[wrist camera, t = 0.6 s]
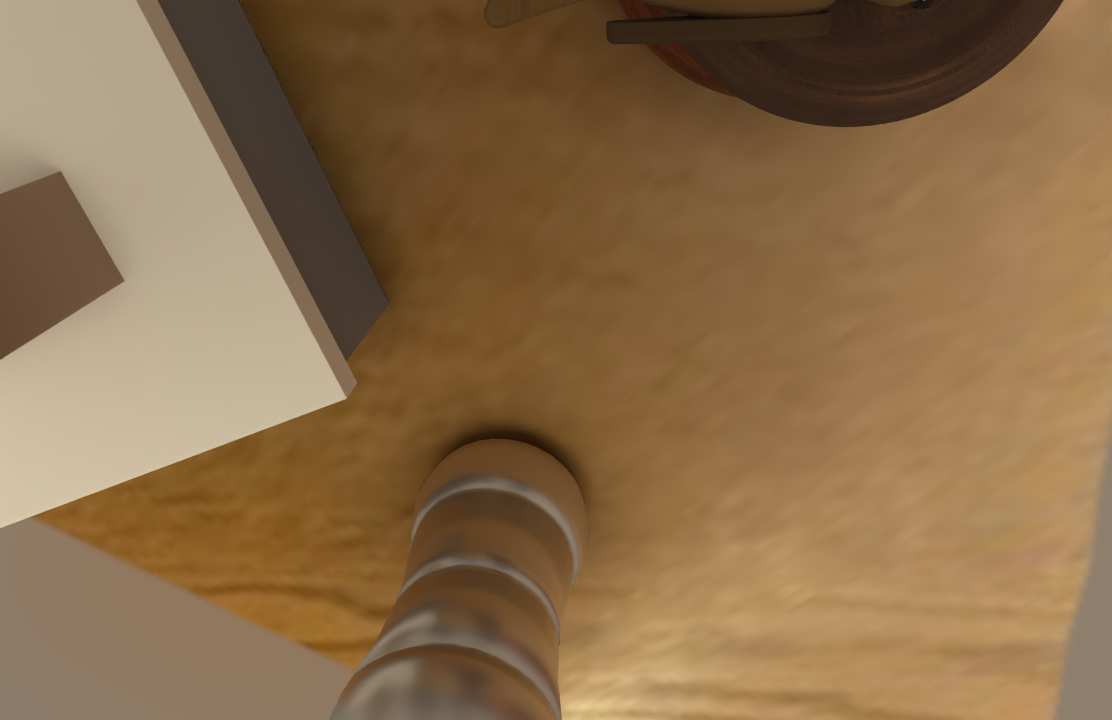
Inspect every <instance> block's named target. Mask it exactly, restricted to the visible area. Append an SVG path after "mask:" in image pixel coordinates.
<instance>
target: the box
mask: <svg viewBox="0 0 1112 720" xmlns="http://www.w3.org/2000/svg"><path fill="white" fill-rule="evenodd" d="M157 1H158V2H159V4H160V6H161V8H162V10H163V12H164V14H165V16H166V18H167V20H168V22H169V24H170V25H171V27H172V29H173V31H174V33H175V35H176V37H177V39H178V41H179V43H180V45H181V47H182V48H183V50H184V52H185V54H186V56H187V58H188V60H189V62H190V64H191V66H192V68H193V69H194V71H195V73H196V75H197V77H198V79H199V81H200V83H201V85H202V87H203V89H204V91H205V92H206V94H207V96H208V98H209V100H210V102H211V104H212V106H213V108H214V110H215V112H216V114H217V115H218V117H219V119H220V121H221V123H222V125H223V127H224V129H225V131H226V133H227V135H228V136H229V138H230V140H231V142H232V144H233V146H234V148H235V150H236V152H237V154H238V156H239V158H240V159H241V161H242V163H243V165H244V167H245V169H246V171H247V173H248V175H249V177H250V179H251V181H252V182H253V184H254V186H255V188H256V190H257V192H258V194H259V196H260V198H261V200H262V202H263V204H264V205H265V207H266V209H267V211H268V213H269V215H270V217H271V219H272V221H273V223H274V225H275V226H276V228H277V230H278V232H279V234H280V236H281V238H282V240H283V242H284V244H285V246H286V248H287V249H288V251H289V253H290V255H291V257H292V259H293V261H294V263H295V265H296V267H297V269H298V271H299V272H300V274H301V276H302V278H303V280H304V282H305V284H306V286H307V288H308V290H309V292H310V294H311V295H312V297H313V299H314V301H315V303H316V305H317V307H318V309H319V311H320V313H321V315H322V316H323V318H324V320H325V322H326V324H327V326H328V328H329V330H330V332H331V334H332V336H333V338H334V339H335V341H336V343H337V345H338V347H339V349H340V351H341V353H342V355H343V357H344V359H345V361H346V360H347V359H348V358H349V356H350V355H351V354H352V352H353V351H354V350H355V348H356V347H357V346H358V344H359V343H360V342H361V340H362V339H363V337H364V336H365V335H366V333H367V332H368V331H369V329H370V328H371V327H372V325H373V324H374V323H375V321H376V320H377V319H378V317H379V316H380V315H381V313H382V312H383V310H384V309H385V308H386V306H387V305H388V304H389V302H388V300H387V298H386V296H385V294H384V292H383V290H382V288H381V286H380V284H379V282H378V280H377V278H376V276H375V274H374V272H373V270H372V268H371V266H370V264H369V262H368V260H367V258H366V256H365V254H364V252H363V250H362V248H361V246H360V244H359V242H358V240H357V238H356V236H355V234H354V232H353V230H352V228H351V226H350V224H349V222H348V220H347V218H346V216H345V214H344V212H343V210H342V208H341V206H340V204H339V202H338V200H337V198H336V196H335V194H334V192H333V190H332V188H331V186H330V183H329V181H328V179H327V177H326V175H325V173H324V171H323V169H322V167H321V165H320V163H319V161H318V159H317V157H316V155H315V153H314V151H313V149H312V147H311V145H310V143H309V141H308V139H307V137H306V135H305V133H304V131H303V129H302V127H301V125H300V123H299V121H298V119H297V117H296V115H295V113H294V111H293V109H292V107H291V105H290V103H289V101H288V99H287V97H286V95H285V93H284V91H283V89H282V87H281V85H280V83H279V81H278V79H277V77H276V75H275V73H274V71H273V69H272V67H271V65H270V63H269V61H268V59H267V57H266V55H265V53H264V51H263V49H262V47H261V45H260V43H259V41H258V39H257V37H256V35H255V33H254V31H253V29H252V27H251V25H250V23H249V21H248V19H247V17H246V15H245V13H244V11H243V9H242V7H241V5H240V3H239V1H238V0H157Z"/></svg>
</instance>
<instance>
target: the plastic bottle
mask: <svg viewBox="0 0 1112 720" xmlns="http://www.w3.org/2000/svg"><path fill="white" fill-rule="evenodd" d="M588 541H589V523H588V518H587V514H586V509H585V505H584V501H583V497H582V493H581V491H580V489H579V487H578V485H577V483H576V481H575V479H574V478H573V476H572V475H571V474H570V473H569V471H568V470H567V469H566V467H564V466H563V465H562V464H561V463H560V462H559V461H558V460H557V459H555V458H554V457H553V456H551V455H550V454H548V453H546V452H545V451H543V450H541V449H540V448H537V447H535V446H532V445H530V444H527V443H524V442H519V441H515V440H510V439H487V440H480V441H475V442H473V443H470V444H467V445H464V446H462V447H460V448H458V449H457V450H455V451H453V452H451V453H450V454H449V455H448V456H447V457H446V458H444V459H443V460H442V461H441V462H440V463H439V464H438V466H437V467H436V468H435V469H434V470H433V471H432V473H431V474H430V475H429V476H428V478H427V479H426V481H425V482H424V483H423V485H422V486H421V488H420V490H419V493H418V496H417V498H416V501H415V506H414V512H413V519H412V526H411V534H410V547H411V549H410V554H409V558H408V562H407V567H406V571H405V576H404V580H403V584H402V588H401V590H400V592H399V594H398V597H397V599H396V602H395V604H394V605H393V607H392V609H391V612H390V614H389V616H388V618H387V620H386V622H385V624H384V627H383V629H382V631H381V633H380V635H379V636H378V638H377V639H376V641H375V642H374V644H373V645H372V647H371V648H370V650H369V652H368V653H367V655H366V656H365V658H364V659H363V661H362V662H361V664H360V665H359V667H358V668H357V670H356V672H355V673H354V675H353V676H352V678H351V679H350V681H349V682H348V684H347V686H346V687H345V688H344V690H343V691H342V693H341V695H340V697H339V699H338V701H337V703H336V706H335V707H334V709H333V711H332V713H331V716H330V718H329V720H562V716H561V706H560V695H559V684H558V672H559V645H560V628H561V624H562V620H563V616H564V612H565V608H566V604H567V601H568V597H569V593H570V590H571V588H572V586H573V584H574V582H575V580H576V578H577V576H578V574H579V572H580V569H581V566H582V563H583V561H584V558H585V555H586V551H587V546H588Z"/></svg>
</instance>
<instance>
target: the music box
mask: <svg viewBox="0 0 1112 720" xmlns="http://www.w3.org/2000/svg"><path fill="white" fill-rule="evenodd" d="M578 1H581V0H488V3H487V5H486V7H485V10H484V17H485V20H486V21H487V23H488V24H489V25H490V26H492V27H494V28H502V27H505V26H508V25H511V24H514V23H517V22H520V21H523V20H526V19H529V18H531V17H534V16H537V15H540V14H543V13H546V12H549V11H552V10H555V9H558V8H561V7H564V6H567V5H569V4H572V3H575V2H578ZM619 2H620V4H621V6H622V8H623V10H624V12H625V14H626V15H627V17H628V19H629V20H616V21H608V22H606V31H607V40H608V41H609V42H610V43H612V44H647V45H648V46H649V47H650V48H651V49H652V50H653V51H654V52H655V53H656V54H657V55H658V56H659V57H660V58H661V59H662V60H663V61H664V62H665V63H667V64H668V65H669V66H670V67H672V68H673V69H674V70H676V71H677V72H679V73H680V74H682V75H683V76H685V77H687V78H688V79H690V80H692V81H694V82H696V83H698V84H700V85H702V86H704V87H706V88H709V89H711V90H714V91H717V92H720V93H723V94H726V95H730V96H734V97H739V98H741V99H742V100H744V101H746V102H748V103H749V104H751V105H753V106H755V107H758V108H760V109H762V110H764V111H767V112H769V113H772V114H774V115H777V116H780V117H783V118H786V119H790V120H794V121H798V122H802V123H808V124H813V125H821V126H833V127H858V126H871V125H878V124H885V123H890V122H895V121H899V120H903V119H907V118H911V117H914V116H917V115H920V114H923V113H926V112H928V111H931V110H934V109H936V108H939V107H941V106H943V105H945V104H947V103H949V102H952V101H953V100H955V99H957V98H959V97H961V96H963V95H965V94H966V93H968V92H970V91H971V90H973V89H975V88H976V87H978V86H979V85H981V84H982V83H984V82H985V81H987V80H988V79H990V78H991V77H992V76H994V75H995V74H996V73H998V72H999V71H1000V70H1002V69H1003V68H1004V67H1005V66H1006V65H1007V64H1009V63H1010V62H1011V61H1012V60H1013V59H1014V58H1016V57H1017V56H1018V55H1019V54H1020V53H1021V52H1022V51H1023V50H1024V49H1025V48H1026V47H1027V46H1028V45H1029V44H1030V43H1031V42H1032V40H1033V39H1034V38H1035V37H1036V36H1037V35H1038V34H1039V33H1040V31H1041V30H1042V29H1043V28H1044V27H1045V25H1046V24H1047V23H1048V22H1049V20H1050V19H1051V18H1052V16H1053V15H1054V14H1055V12H1056V11H1057V9H1058V8H1059V6H1060V5H1061V3H1062V2H1063V0H619Z"/></svg>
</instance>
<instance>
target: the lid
mask: <svg viewBox="0 0 1112 720" xmlns="http://www.w3.org/2000/svg"><path fill="white" fill-rule="evenodd" d="M356 384H357V382H356V380H355V378H354V376H353V374H352V372H351V370H350V368H349V366H348V364H347V362H346V361H345V359H344V357H343V355H342V353H341V351H340V349H339V347H338V345H337V343H336V341H335V339H334V338H333V336H332V334H331V332H330V330H329V328H328V326H327V324H326V322H325V320H324V318H323V316H322V315H321V313H320V311H319V309H318V307H317V305H316V303H315V301H314V299H313V297H312V295H311V294H310V292H309V290H308V288H307V286H306V284H305V282H304V280H303V278H302V276H301V274H300V272H299V271H298V269H297V267H296V265H295V263H294V261H293V259H292V257H291V255H290V253H289V251H288V249H287V248H286V246H285V244H284V242H283V240H282V238H281V236H280V234H279V232H278V230H277V228H276V226H275V225H274V223H273V221H272V219H271V217H270V215H269V213H268V211H267V209H266V207H265V205H264V204H263V202H262V200H261V198H260V196H259V194H258V192H257V190H256V188H255V186H254V184H253V182H252V181H251V179H250V177H249V175H248V173H247V171H246V169H245V167H244V165H243V163H242V161H241V159H240V158H239V156H238V154H237V152H236V150H235V148H234V146H233V144H232V142H231V140H230V138H229V136H228V135H227V133H226V131H225V129H224V127H223V125H222V123H221V121H220V119H219V117H218V115H217V114H216V112H215V110H214V108H213V106H212V104H211V102H210V100H209V98H208V96H207V94H206V92H205V91H204V89H203V87H202V85H201V83H200V81H199V79H198V77H197V75H196V73H195V71H194V69H193V68H192V66H191V64H190V62H189V60H188V58H187V56H186V54H185V52H184V50H183V48H182V47H181V45H180V43H179V41H178V39H177V37H176V35H175V33H174V31H173V29H172V27H171V25H170V24H169V22H168V20H167V18H166V16H165V14H164V12H163V10H162V8H161V6H160V4H159V2H158V1H157V0H0V528H1V527H4V526H7V525H9V524H12V523H15V522H18V521H20V520H23V519H26V518H28V517H31V516H34V515H36V514H39V513H42V512H44V511H47V510H50V509H52V508H55V507H58V506H60V505H63V504H66V503H68V502H71V501H74V500H76V499H79V498H82V497H84V496H87V495H90V494H92V493H95V492H98V491H101V490H103V489H106V488H109V487H111V486H114V485H117V484H119V483H122V482H125V481H127V480H130V479H133V478H135V477H138V476H141V475H143V474H146V473H149V472H151V471H154V470H157V469H159V468H162V467H165V466H167V465H170V464H173V463H175V462H178V461H181V460H184V459H186V458H189V457H192V456H194V455H197V454H200V453H202V452H205V451H208V450H210V449H213V448H216V447H218V446H221V445H224V444H226V443H229V442H232V441H234V440H237V439H240V438H242V437H245V436H248V435H250V434H253V433H256V432H258V431H261V430H264V429H267V428H269V427H272V426H275V425H277V424H280V423H283V422H285V421H288V420H291V419H293V418H296V417H299V416H301V415H304V414H307V413H309V412H312V411H315V410H317V409H320V408H323V407H325V406H328V405H331V404H333V403H336V402H339V401H341V400H344V399H347V397H348V396H349V394H350V393H351V392H352V390H353V389H354V387H355V386H356Z"/></svg>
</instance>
